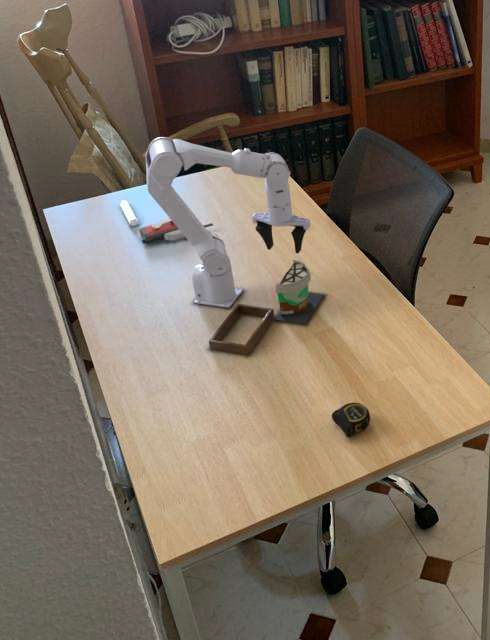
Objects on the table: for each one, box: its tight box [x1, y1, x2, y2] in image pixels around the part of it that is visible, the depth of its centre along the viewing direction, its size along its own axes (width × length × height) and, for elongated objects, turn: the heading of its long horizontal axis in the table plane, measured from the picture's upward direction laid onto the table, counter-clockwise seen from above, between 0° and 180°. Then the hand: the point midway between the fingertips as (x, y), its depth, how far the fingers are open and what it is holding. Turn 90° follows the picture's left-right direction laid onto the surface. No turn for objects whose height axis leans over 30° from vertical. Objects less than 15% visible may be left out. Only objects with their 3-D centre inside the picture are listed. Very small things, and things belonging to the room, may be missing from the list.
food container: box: [275, 259, 312, 316], centre depth 195 cm, size 12×6×10 cm, turn 168°
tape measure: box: [331, 402, 371, 439], centre depth 162 cm, size 7×7×4 cm
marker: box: [119, 200, 139, 227], centre depth 238 cm, size 3×2×16 cm
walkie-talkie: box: [138, 217, 214, 245], centre depth 227 cm, size 9×4×20 cm
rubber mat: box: [274, 291, 325, 326], centre depth 198 cm, size 8×13×1 cm, turn 167°
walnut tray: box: [208, 303, 276, 356], centre depth 188 cm, size 9×15×2 cm, turn 167°
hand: (284, 249), depth 202 cm, fingers open, 7 cm apart
